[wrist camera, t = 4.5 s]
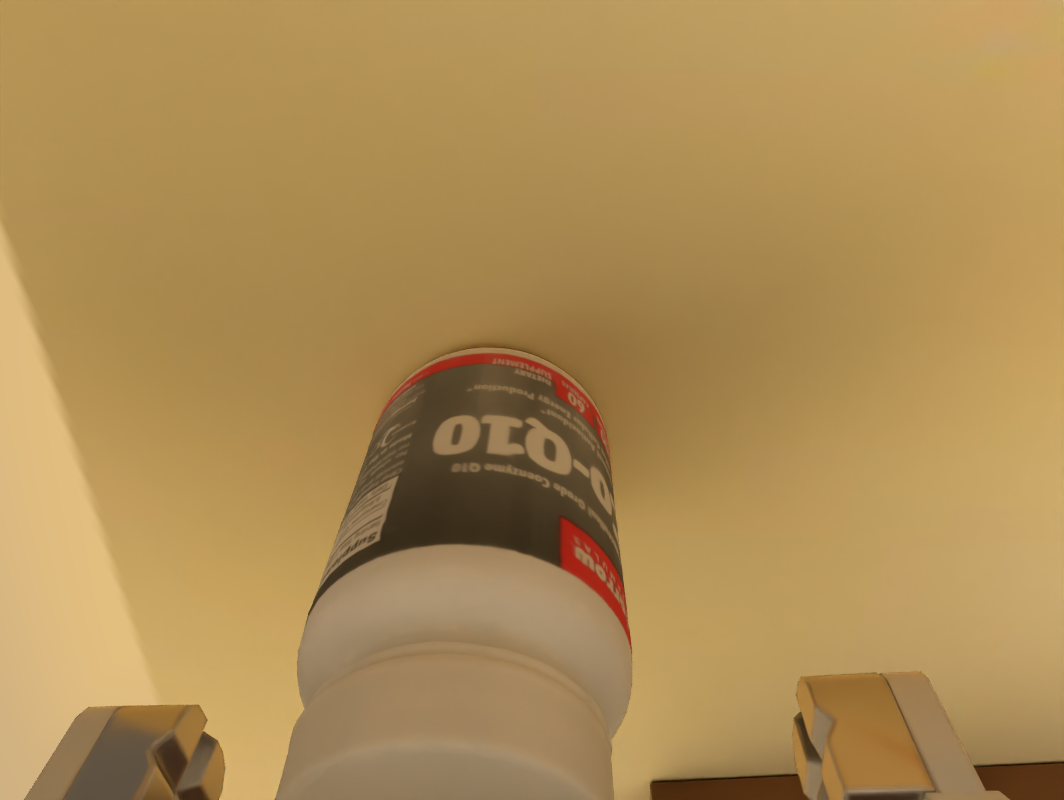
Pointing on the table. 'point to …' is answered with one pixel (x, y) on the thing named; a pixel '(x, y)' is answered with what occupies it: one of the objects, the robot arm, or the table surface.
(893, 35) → the table surface
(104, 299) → the table surface
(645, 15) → the table surface
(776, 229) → the table surface
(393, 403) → the pill bottle
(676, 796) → the riser
